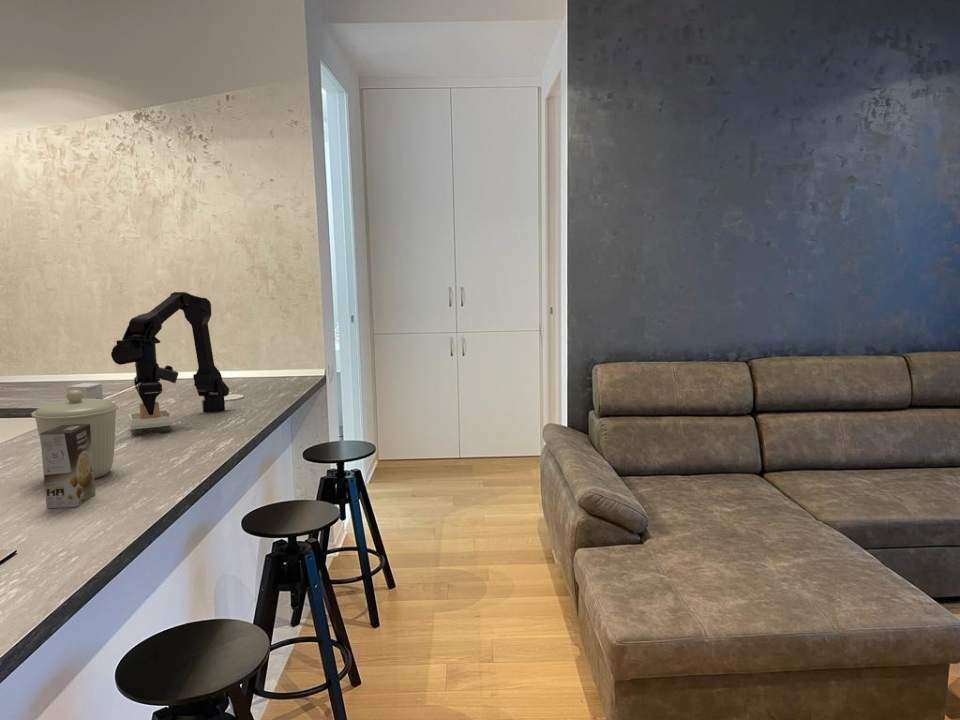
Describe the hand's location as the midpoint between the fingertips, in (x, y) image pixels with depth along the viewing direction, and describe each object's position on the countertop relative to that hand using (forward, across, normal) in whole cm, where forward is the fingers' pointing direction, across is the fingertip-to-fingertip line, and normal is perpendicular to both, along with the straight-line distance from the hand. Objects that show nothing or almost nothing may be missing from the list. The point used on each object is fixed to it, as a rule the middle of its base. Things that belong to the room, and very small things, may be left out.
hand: (149, 412), depth 216 cm
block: (+2, 0, 0) cm, 3 cm away
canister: (+7, -38, +18) cm, 43 cm away
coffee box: (+7, -58, +20) cm, 62 cm away
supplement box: (+7, +28, +16) cm, 33 cm away
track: (+7, 0, -5) cm, 9 cm away
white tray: (+6, 0, 0) cm, 6 cm away
